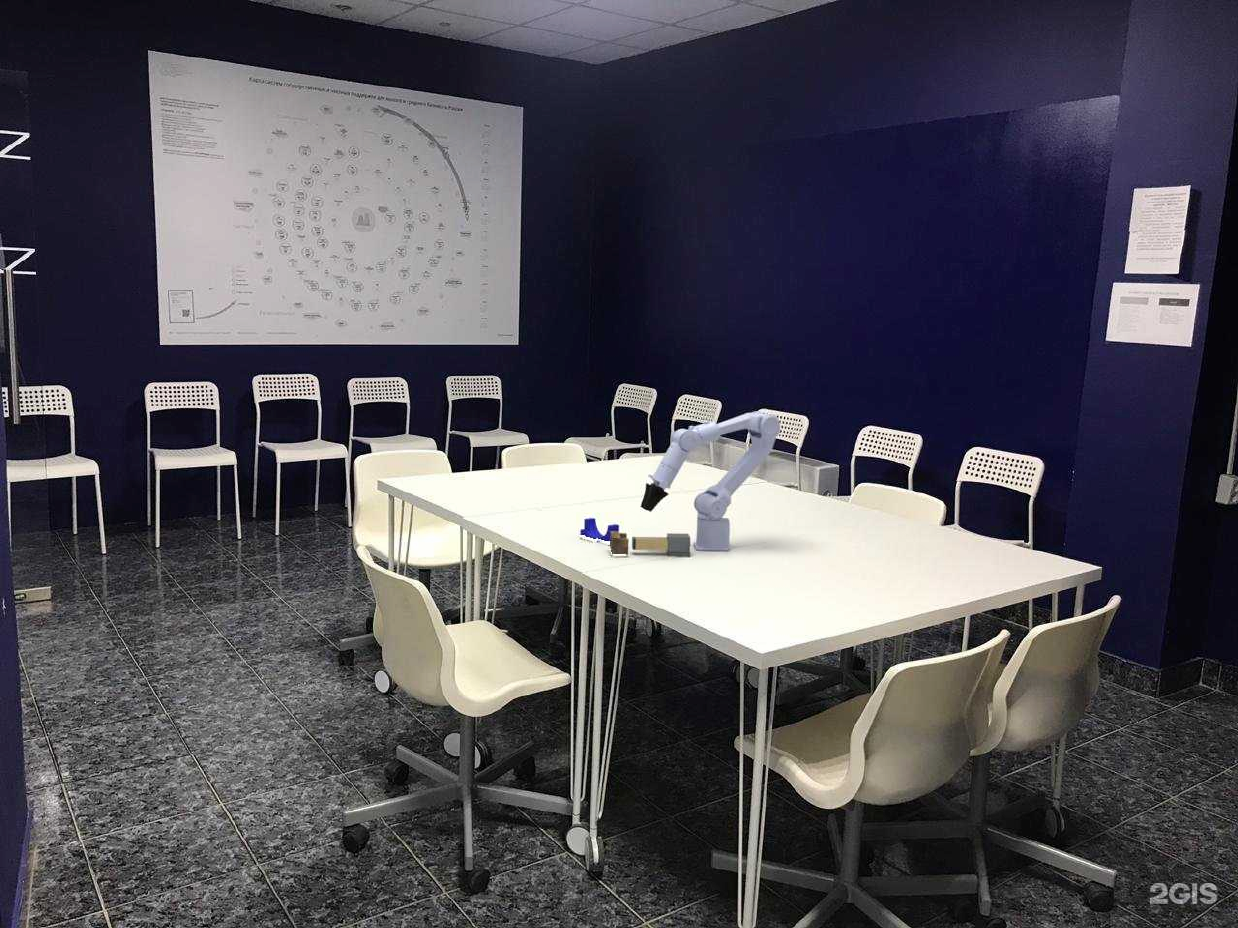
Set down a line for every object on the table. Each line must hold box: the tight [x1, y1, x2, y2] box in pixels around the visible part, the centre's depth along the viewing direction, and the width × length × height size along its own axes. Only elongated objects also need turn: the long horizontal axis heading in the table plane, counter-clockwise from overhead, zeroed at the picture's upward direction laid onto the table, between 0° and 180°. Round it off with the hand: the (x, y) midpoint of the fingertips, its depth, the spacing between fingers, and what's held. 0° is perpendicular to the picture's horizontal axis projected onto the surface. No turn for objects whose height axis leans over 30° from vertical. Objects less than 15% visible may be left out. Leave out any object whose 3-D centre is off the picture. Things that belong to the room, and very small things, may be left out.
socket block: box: [609, 530, 630, 556], centre depth 280 cm, size 4×8×6 cm, turn 4°
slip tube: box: [631, 536, 669, 551], centre depth 281 cm, size 14×3×3 cm, turn 94°
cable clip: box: [579, 517, 620, 541], centre depth 294 cm, size 12×4×6 cm, turn 42°
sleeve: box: [665, 532, 691, 558], centre depth 282 cm, size 6×6×5 cm
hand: (645, 509), depth 282 cm, fingers open, 7 cm apart
